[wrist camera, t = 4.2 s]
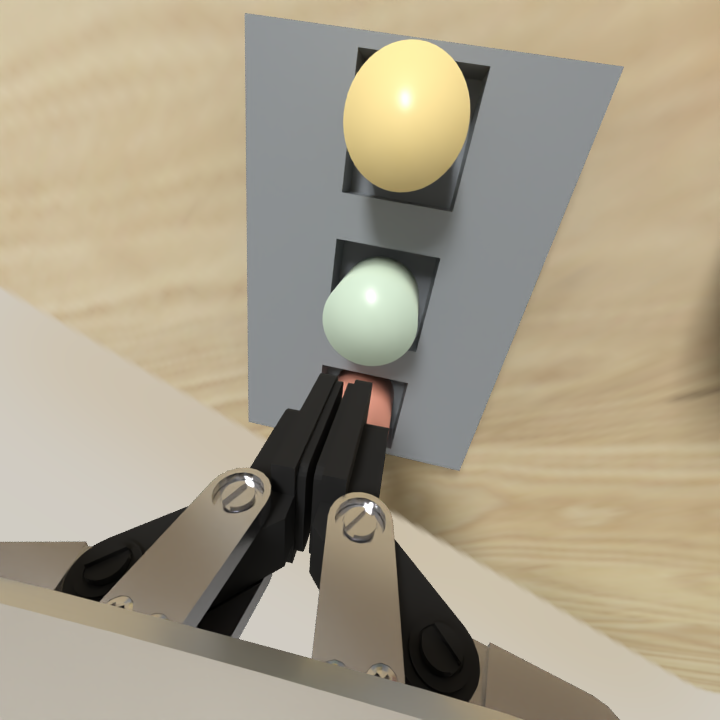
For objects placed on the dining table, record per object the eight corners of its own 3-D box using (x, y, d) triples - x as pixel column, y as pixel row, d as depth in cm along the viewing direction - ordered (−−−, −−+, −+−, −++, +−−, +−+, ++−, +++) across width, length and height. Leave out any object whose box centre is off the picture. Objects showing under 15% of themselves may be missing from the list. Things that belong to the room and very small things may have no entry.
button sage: (427, 264, 17) (428, 286, 13) (409, 338, 19) (406, 374, 15) (347, 249, 17) (327, 267, 13) (337, 323, 19) (318, 355, 15)
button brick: (399, 372, 21) (394, 410, 18) (387, 422, 23) (381, 465, 20) (337, 359, 21) (320, 393, 18) (330, 409, 23) (313, 449, 20)
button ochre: (471, 84, 13) (488, 49, 10) (443, 197, 15) (450, 201, 12) (370, 69, 14) (352, 30, 10) (356, 181, 15) (336, 181, 12)
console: (587, 87, 15) (623, 67, 12) (455, 439, 24) (459, 470, 22) (275, 41, 16) (244, 12, 13) (266, 396, 25) (248, 421, 23)
